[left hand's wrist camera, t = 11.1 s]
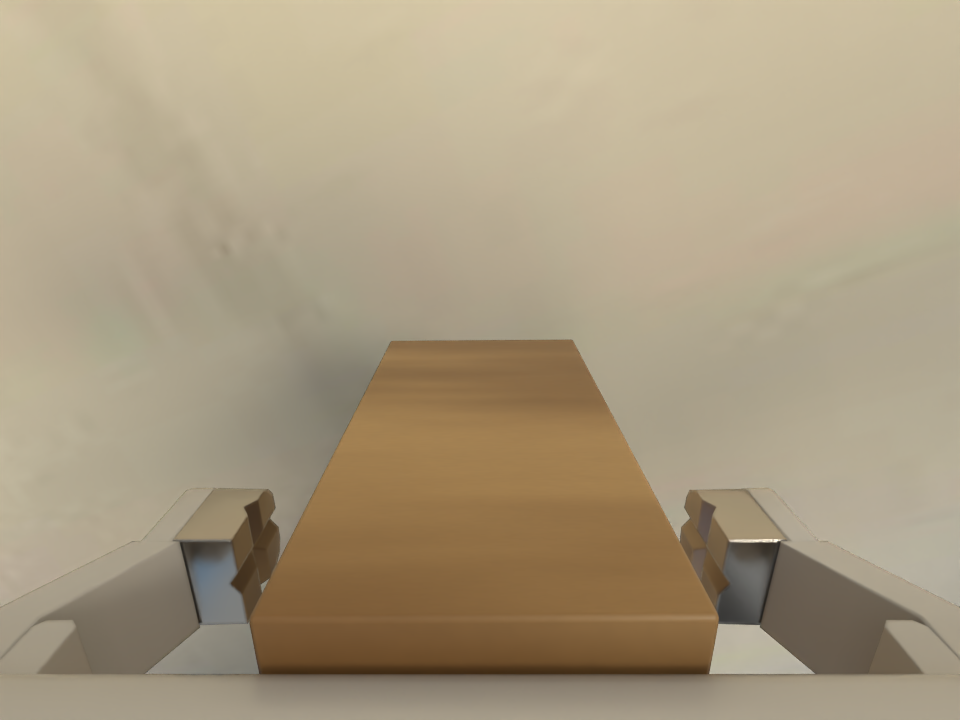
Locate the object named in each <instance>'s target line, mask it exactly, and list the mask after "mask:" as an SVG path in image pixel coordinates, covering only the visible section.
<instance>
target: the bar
mask: <svg viewBox="0 0 960 720" xmlns="http://www.w3.org/2000/svg"><path fill="white" fill-rule="evenodd" d="M249 620H250V628H251V633H252V638H253V644H254V649H255V654H256V659H257V664H258V669H259V674H709V671H710V666H711V660H712V655H713V649H714V644H715V639H716V633H717V628H718V622H719V616H718V613H717V611H716V610H715V608H714V606H713V604H712V602H711V600H710V598H709V596H708V594H707V593H706V591H705V589H704V587H703V585H702V583H701V581H700V579H699V577H698V576H697V574H696V572H695V570H694V568H693V566H692V564H691V562H690V561H689V559H688V557H687V555H686V553H685V551H684V549H683V547H682V545H681V544H680V542H679V540H678V538H677V536H676V534H675V532H674V530H673V528H672V527H671V525H670V523H669V521H668V519H667V517H666V515H665V513H664V512H663V510H662V508H661V506H660V504H659V502H658V500H657V498H656V496H655V495H654V493H653V491H652V489H651V487H650V485H649V483H648V481H647V479H646V478H645V476H644V474H643V472H642V470H641V468H640V466H639V464H638V463H637V461H636V459H635V457H634V455H633V453H632V451H631V449H630V447H629V446H628V444H627V442H626V440H625V438H624V436H623V434H622V432H621V430H620V429H619V427H618V425H617V423H616V421H615V419H614V417H613V415H612V414H611V412H610V410H609V408H608V406H607V404H606V402H605V400H604V398H603V397H602V395H601V393H600V391H599V389H598V387H597V385H596V383H595V381H594V380H593V378H592V376H591V374H590V372H589V370H588V368H587V366H586V365H585V363H584V361H583V359H582V357H581V355H580V353H579V351H578V349H577V348H576V346H575V344H574V342H573V340H466V341H392V342H390V344H389V346H388V348H387V350H386V352H385V354H384V356H383V358H382V360H381V362H380V364H379V366H378V368H377V370H376V372H375V374H374V376H373V378H372V380H371V382H370V384H369V385H368V387H367V389H366V391H365V393H364V395H363V397H362V399H361V401H360V403H359V405H358V407H357V409H356V411H355V413H354V415H353V417H352V419H351V421H350V423H349V425H348V426H347V428H346V430H345V432H344V434H343V436H342V438H341V440H340V442H339V444H338V446H337V448H336V450H335V452H334V454H333V456H332V458H331V460H330V462H329V464H328V466H327V468H326V469H325V471H324V473H323V475H322V477H321V479H320V481H319V483H318V485H317V487H316V489H315V491H314V493H313V495H312V497H311V499H310V501H309V503H308V505H307V507H306V509H305V511H304V512H303V514H302V516H301V518H300V520H299V522H298V524H297V526H296V528H295V530H294V532H293V534H292V536H291V538H290V540H289V542H288V544H287V546H286V548H285V550H284V552H283V553H282V555H281V557H280V559H279V561H278V563H277V565H276V567H275V569H274V571H273V573H272V575H271V577H270V579H269V581H268V583H267V585H266V587H265V589H264V591H263V593H262V595H261V596H260V598H259V600H258V602H257V604H256V606H255V608H254V610H253V612H252V614H251V616H250V619H249Z"/></svg>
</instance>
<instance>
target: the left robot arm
mask: <svg viewBox="0 0 960 720" xmlns="http://www.w3.org/2000/svg"><path fill="white" fill-rule="evenodd" d="M274 510H275V503H274V498H273V493H272V492H271V491H269V490H268V489H234V488H218V489H216V488H192V489H189V490H186V491H185V492H184V494H183V495H182V496H181V497H180V498H179V499H178V500H177V501H176V503H175V504H174V505H173V506H172V507H171V508H170V509H169V510H168V512H167V513H166V514H165V515H164V516H163V517H162V518H161V519H160V521H159V522H158V523H157V524H156V525H155V526H154V527H153V528H152V530H151V531H150V532H149V533H148V534H147V535H146V536H145V537H144V539H143V540H142V541H132V542H130V543H128V544H126V545H124V546H122V547H120V548H118V549H116V550H114V551H112V552H110V553H108V554H106V555H104V556H102V557H100V558H98V559H96V560H94V561H92V562H90V563H88V564H86V565H84V566H82V567H80V568H78V569H76V570H74V571H72V572H70V573H68V574H66V575H64V576H62V577H60V578H58V579H56V580H54V581H52V582H50V583H48V584H46V585H44V586H42V587H40V588H38V589H36V590H34V591H32V592H30V593H28V594H26V595H24V596H22V597H20V598H18V599H16V600H14V601H12V602H10V603H8V604H6V605H4V606H2V607H0V720H960V607H958V606H956V605H954V604H952V603H950V602H948V601H946V600H944V599H942V598H940V597H938V596H936V595H934V594H932V593H930V592H928V591H926V590H924V589H922V588H920V587H918V586H916V585H914V584H912V583H910V582H908V581H906V580H904V579H902V578H900V577H898V576H896V575H894V574H892V573H890V572H888V571H886V570H884V569H882V568H880V567H878V566H876V565H874V564H872V563H870V562H868V561H866V560H864V559H862V558H860V557H858V556H856V555H854V554H852V553H850V552H848V551H846V550H844V549H842V548H840V547H838V546H836V545H834V544H832V543H830V542H828V541H818V540H817V539H816V537H815V536H814V535H813V534H812V533H811V532H810V531H809V530H808V528H807V527H806V526H805V525H804V524H803V523H802V522H801V521H800V519H799V518H798V517H797V516H796V515H795V514H794V513H793V512H792V510H791V509H790V508H789V507H788V506H787V505H786V504H785V503H784V501H783V500H782V499H781V498H780V497H779V496H778V495H777V494H776V492H775V491H773V490H771V489H769V488H744V489H716V490H690V491H689V493H688V495H687V497H686V502H685V510H686V512H687V513H688V515H689V517H690V519H689V520H688V521H687V522H686V523H685V524H684V525H683V526H682V527H681V535H680V544H681V545H682V547H683V549H684V551H685V553H686V555H687V557H688V559H689V561H690V562H691V564H692V566H693V568H694V570H695V572H696V574H697V576H698V577H699V579H700V581H701V583H702V585H703V587H704V589H705V591H706V593H707V594H708V596H709V598H710V600H711V602H712V604H713V606H714V608H715V610H716V611H717V613H718V616H719V622H718V624H745V625H760V628H762V629H763V630H764V631H765V632H766V633H768V634H769V635H770V636H771V637H772V638H774V639H775V640H776V641H777V642H778V643H779V644H781V645H782V646H783V647H784V648H785V649H787V650H788V651H789V652H790V653H791V654H793V655H794V656H795V657H796V658H797V659H799V660H800V661H801V662H802V663H803V664H805V665H806V666H807V667H808V668H809V669H811V670H812V671H813V672H814V673H815V674H145V673H146V672H147V671H148V670H150V669H151V668H152V667H153V666H154V665H156V664H157V663H158V662H159V661H160V660H162V659H163V658H164V657H165V656H166V655H168V654H169V653H170V652H171V651H172V650H174V649H175V648H176V647H177V646H178V645H180V644H181V643H182V642H183V641H184V640H186V639H187V638H188V637H189V636H190V635H191V634H193V633H194V632H195V631H196V630H197V629H199V628H200V625H214V624H248V622H249V619H250V616H251V614H252V612H253V610H254V608H255V606H256V604H257V602H258V600H259V598H260V596H261V595H262V590H261V585H260V584H262V583H263V582H265V581H266V580H268V579H269V578H270V577H271V575H272V573H273V571H274V569H275V567H276V565H277V561H278V557H279V552H280V533H279V527H278V526H277V525H276V524H275V523H274V522H273V521H272V520H271V519H270V517H271V515H272V513H273V512H274Z"/></svg>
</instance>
